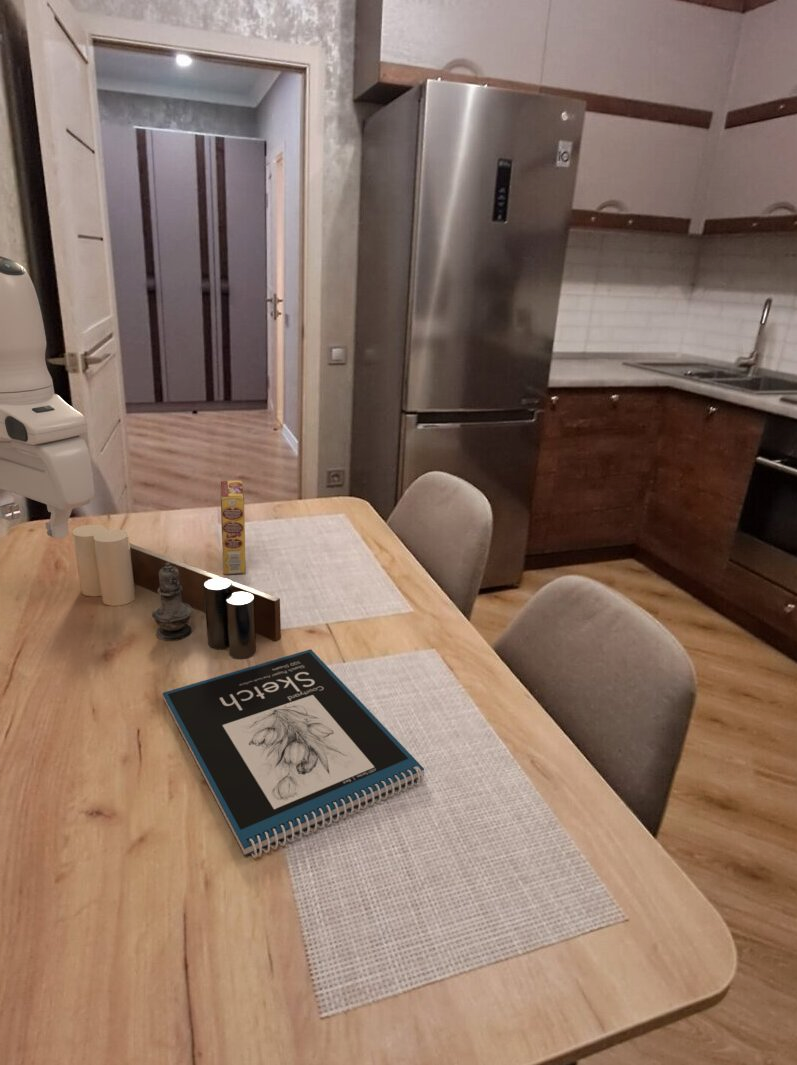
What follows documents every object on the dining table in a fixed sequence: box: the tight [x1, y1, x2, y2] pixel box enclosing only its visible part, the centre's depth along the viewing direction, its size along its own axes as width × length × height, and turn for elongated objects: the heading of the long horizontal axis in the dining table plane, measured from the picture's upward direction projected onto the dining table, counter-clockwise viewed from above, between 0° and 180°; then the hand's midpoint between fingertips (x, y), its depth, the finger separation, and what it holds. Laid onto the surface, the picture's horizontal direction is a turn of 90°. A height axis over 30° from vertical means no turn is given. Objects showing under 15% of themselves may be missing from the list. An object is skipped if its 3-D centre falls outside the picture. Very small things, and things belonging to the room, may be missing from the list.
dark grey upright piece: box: [151, 562, 193, 642], centre depth 101 cm, size 6×6×12 cm
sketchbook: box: [162, 648, 425, 860], centre depth 81 cm, size 22×30×2 cm
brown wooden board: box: [129, 542, 282, 642], centre depth 110 cm, size 38×1×7 cm, turn 59°
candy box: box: [219, 479, 246, 575], centre depth 123 cm, size 9×4×15 cm, turn 14°
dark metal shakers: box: [204, 577, 257, 660], centre depth 98 cm, size 8×4×10 cm, turn 59°
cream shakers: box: [71, 523, 137, 607], centre depth 111 cm, size 11×5×12 cm, turn 59°
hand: (34, 527), depth 79 cm, fingers open, 8 cm apart
